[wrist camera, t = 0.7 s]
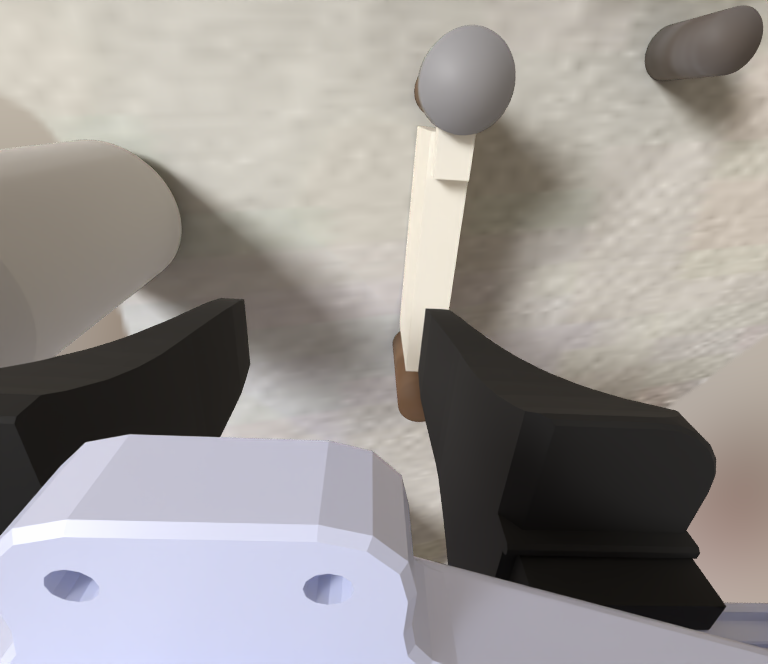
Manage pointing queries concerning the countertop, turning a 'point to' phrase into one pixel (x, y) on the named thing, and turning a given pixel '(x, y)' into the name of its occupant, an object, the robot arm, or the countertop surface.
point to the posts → (663, 62)
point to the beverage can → (75, 240)
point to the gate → (447, 164)
